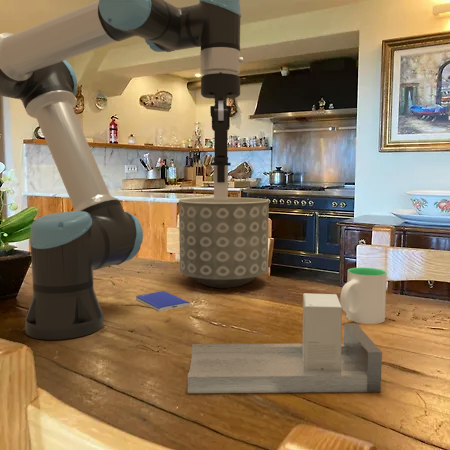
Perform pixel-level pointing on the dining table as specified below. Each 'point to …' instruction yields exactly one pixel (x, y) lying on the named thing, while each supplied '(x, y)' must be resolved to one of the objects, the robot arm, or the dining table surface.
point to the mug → (364, 295)
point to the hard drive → (162, 300)
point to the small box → (321, 332)
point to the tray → (284, 368)
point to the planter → (223, 240)
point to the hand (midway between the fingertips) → (220, 199)
